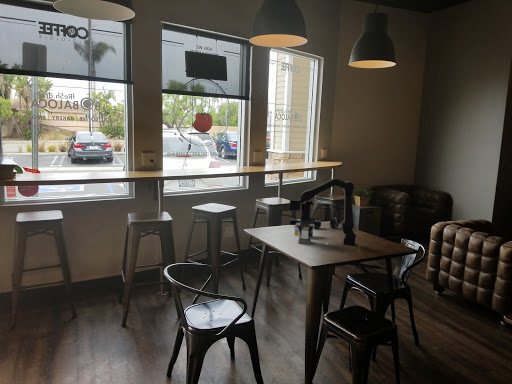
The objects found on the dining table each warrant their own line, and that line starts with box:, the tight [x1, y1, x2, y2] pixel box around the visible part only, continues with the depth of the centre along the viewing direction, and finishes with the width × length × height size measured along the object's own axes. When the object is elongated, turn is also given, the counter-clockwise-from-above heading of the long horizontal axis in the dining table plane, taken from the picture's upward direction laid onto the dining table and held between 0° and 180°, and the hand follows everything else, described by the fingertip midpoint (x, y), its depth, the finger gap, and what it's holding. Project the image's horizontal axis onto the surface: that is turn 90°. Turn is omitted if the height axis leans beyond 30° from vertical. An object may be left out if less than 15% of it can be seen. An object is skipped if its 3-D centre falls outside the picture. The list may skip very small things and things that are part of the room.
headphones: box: [311, 203, 340, 230], centre depth 282 cm, size 20×7×18 cm, turn 101°
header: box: [297, 237, 312, 246], centre depth 240 cm, size 7×9×2 cm
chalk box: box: [294, 218, 314, 238], centre depth 256 cm, size 9×9×15 cm
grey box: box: [301, 227, 309, 239], centre depth 240 cm, size 4×5×6 cm
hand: (305, 236), depth 240 cm, fingers closed on grey box, 4 cm apart
